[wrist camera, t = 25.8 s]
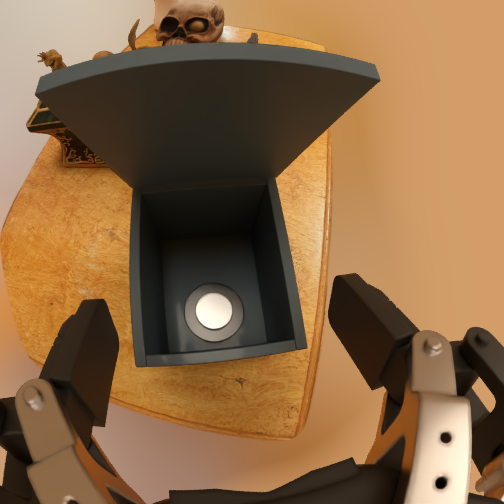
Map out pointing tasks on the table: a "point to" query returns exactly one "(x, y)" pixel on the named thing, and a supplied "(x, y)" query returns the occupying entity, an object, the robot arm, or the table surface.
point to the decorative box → (48, 123)
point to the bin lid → (204, 108)
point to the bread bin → (211, 269)
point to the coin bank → (192, 23)
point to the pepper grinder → (214, 312)
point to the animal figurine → (253, 38)
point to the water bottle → (162, 10)
